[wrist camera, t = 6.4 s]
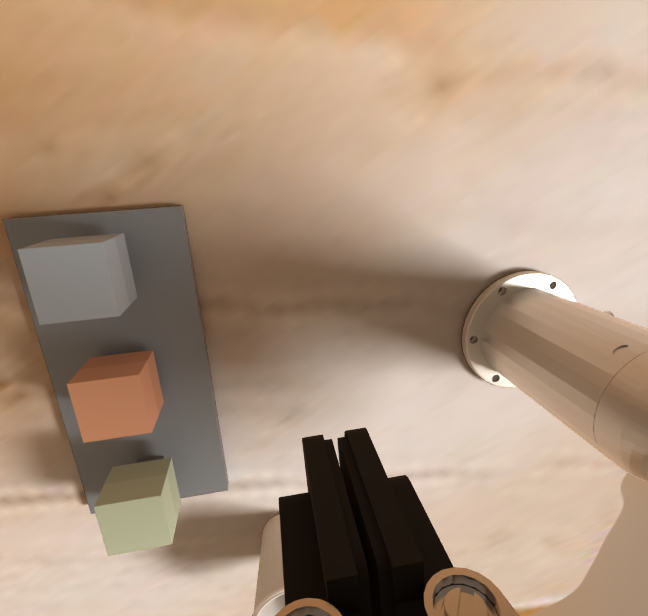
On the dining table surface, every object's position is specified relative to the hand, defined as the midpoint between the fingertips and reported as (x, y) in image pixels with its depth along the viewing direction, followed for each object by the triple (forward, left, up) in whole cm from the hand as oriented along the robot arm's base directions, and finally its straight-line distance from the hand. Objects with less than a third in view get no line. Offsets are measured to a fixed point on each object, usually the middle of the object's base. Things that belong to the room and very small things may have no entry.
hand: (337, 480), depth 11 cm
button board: (+13, +8, -28) cm, 32 cm away
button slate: (+13, -2, -24) cm, 28 cm away
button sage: (+14, +18, -24) cm, 33 cm away
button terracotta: (+14, +8, -26) cm, 30 cm away
